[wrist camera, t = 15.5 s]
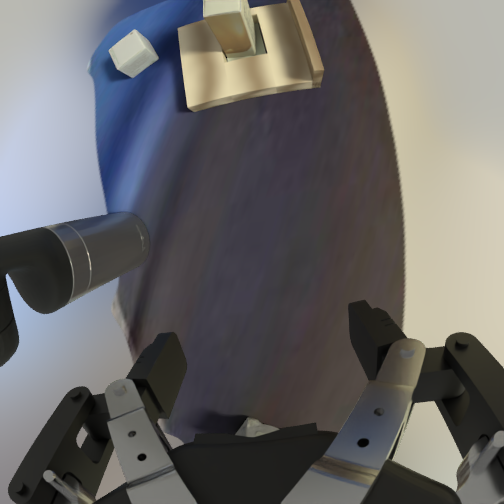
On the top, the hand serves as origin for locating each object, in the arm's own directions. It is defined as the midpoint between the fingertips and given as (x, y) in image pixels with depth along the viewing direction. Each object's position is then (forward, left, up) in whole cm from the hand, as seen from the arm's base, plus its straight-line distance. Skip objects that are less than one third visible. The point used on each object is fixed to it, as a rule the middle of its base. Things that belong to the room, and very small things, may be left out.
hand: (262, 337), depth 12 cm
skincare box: (-1, +30, -26) cm, 40 cm away
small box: (-17, +34, -26) cm, 46 cm away
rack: (0, +28, -26) cm, 38 cm away
